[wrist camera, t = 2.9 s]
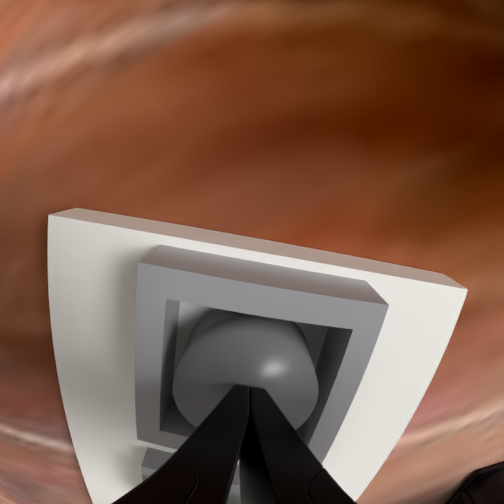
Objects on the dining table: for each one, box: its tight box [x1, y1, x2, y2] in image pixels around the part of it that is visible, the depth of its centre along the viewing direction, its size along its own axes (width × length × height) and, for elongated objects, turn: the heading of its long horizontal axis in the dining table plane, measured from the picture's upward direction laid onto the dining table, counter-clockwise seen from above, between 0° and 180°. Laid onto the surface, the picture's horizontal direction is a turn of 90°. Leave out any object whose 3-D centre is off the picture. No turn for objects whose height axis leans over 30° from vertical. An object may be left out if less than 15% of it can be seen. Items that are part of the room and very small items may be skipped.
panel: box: [48, 208, 468, 504], centre depth 12 cm, size 15×23×4 cm, turn 170°
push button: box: [173, 309, 319, 430], centre depth 9 cm, size 4×4×2 cm
